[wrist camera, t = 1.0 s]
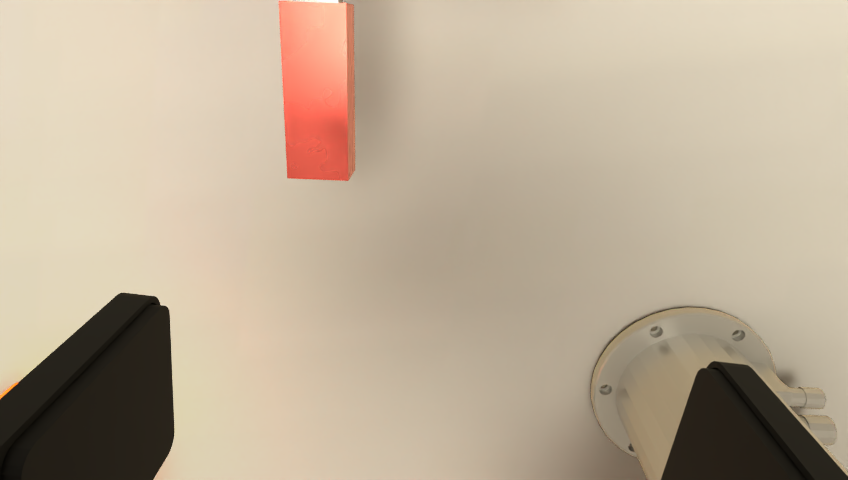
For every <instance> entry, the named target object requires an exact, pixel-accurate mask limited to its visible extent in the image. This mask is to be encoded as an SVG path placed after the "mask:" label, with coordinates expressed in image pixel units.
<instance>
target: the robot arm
mask: <svg viewBox="0 0 848 480" xmlns="http://www.w3.org/2000/svg"><path fill="white" fill-rule="evenodd" d="M653 327H654V328H653ZM591 401H592V405H593V409H594V413H595V415H596V418H597V420H598V422H599V425H600V427H601V428H602V430H603V431H604V433H605V434H606V436H607V437H608V438H609V439H610V440H611V441H612V442H613V443H614V444H615V445H616V446H617V447H618V448H620V449H621V450H623V451H624V452H626V453H627V454H629V455H631V456H634V457H636V458H638V460H639V462H640V464H641V467H642V469H643V471H644V473H645V476H646V478H647V480H848V471H847V470H846V469H845V468H844V467H843V466H842V465H841V464H840V462H839V461H838V460H837V459H836V458H835V457H834V456H833V455H832V454H831V452H830V451H829V450H828V449H827V448H826V447H825V446H824V445H832V444H834V442H835V440H836V437H837V431H836V427H835V424H834V422H833V421H832V419H831V418H829V417H828V416H818V415H797V414H796V413H795V412H794V411H793V410H792V409H791V408H790V407H800V408H808V409H822V408H824V406H825V403H826V398H825V394H824V392H823V391H822V389H820V388H811V387H798V388H789V387H788V386H787V385H786V384H784V383H783V382H782V381H781V380H780V379H779V378H778V377H777V376H776V370H775V364H774V361H773V359H772V356H771V353H770V351H769V349H768V348H767V347H766V345H765V344H764V342H763V341H762V339H761V338H760V337H759V336H758V335H757V334H756V333H755V332H754V331H753V330H752V329H751V328H750V327H748V326H747V325H746V324H744V323H743V322H741V321H740V320H738V319H737V318H735V317H733V316H730V315H728V314H726V313H723V312H720V311H716V310H711V309H707V308H691V307H686V308H678V309H670V310H666V311H663V312H659V313H656V314H652V315H650V316H648V317H646V318H644V319H642V320H640V321H638V322H635V323H634V324H633V325H631V326H630V327H628V328H627V329H625V330H624V331H623V332H621V333H620V334H619V335H618V336H617V337H616V338H615V339H614V340H613V341H612V342H611V343H610V344H609V345H608V347H607V348H606V350H605V351H604V352H603V354H602V355H601V357H600V359H599V361H598V363H597V365H596V368H595V370H594V373H593V378H592V383H591ZM173 439H174V412H173V387H172V363H171V338H170V315H169V310H168V308H167V307H166V306H161V305H160V302H159V300H158V298H157V297H155V296H146V295H138V294H129V293H120V294H118V295H117V296H116V297H115V298H113V299H112V300H111V301H110V302H109V303H108V304H107V305H106V306H104V307H103V308H102V309H101V310H100V311H99V312H98V313H96V314H95V315H94V316H93V317H92V318H91V319H90V320H89V321H87V322H86V323H85V324H84V325H83V326H82V327H81V328H80V329H78V330H77V331H76V332H75V333H74V334H73V335H72V336H71V337H69V338H68V339H67V340H66V341H65V342H64V343H63V344H62V345H60V346H59V347H58V348H57V349H56V350H55V351H54V352H53V353H51V354H50V355H49V356H48V357H47V358H46V359H45V360H43V361H42V362H41V363H40V364H39V365H38V366H37V367H36V368H34V369H33V370H32V371H31V372H30V373H29V374H28V375H27V376H25V377H24V378H23V379H22V380H21V381H20V382H19V383H18V384H16V385H15V386H14V387H13V388H12V389H11V390H10V391H9V392H7V393H6V394H5V395H4V396H3V397H2V398H1V399H0V480H153V479H154V477H155V475H156V474H157V472H158V471H159V469H160V467H161V466H162V464H163V462H164V461H165V459H166V457H167V456H168V454H169V452H170V449H171V447H172V443H173Z"/></svg>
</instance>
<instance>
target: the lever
mask: <svg viewBox="0 0 848 480" xmlns="http://www.w3.org/2000/svg"><path fill="white" fill-rule="evenodd" d="M279 16H280V36H281V56H282V76H283V97H284V117H285V137H286V158H287V178H295V179H320V180H345V181H348V180H349V179H350V177H351V176H352V174H353V172H354V171H355V96H354V5H352V4H347V3H342V0H293V1H279Z"/></svg>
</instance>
